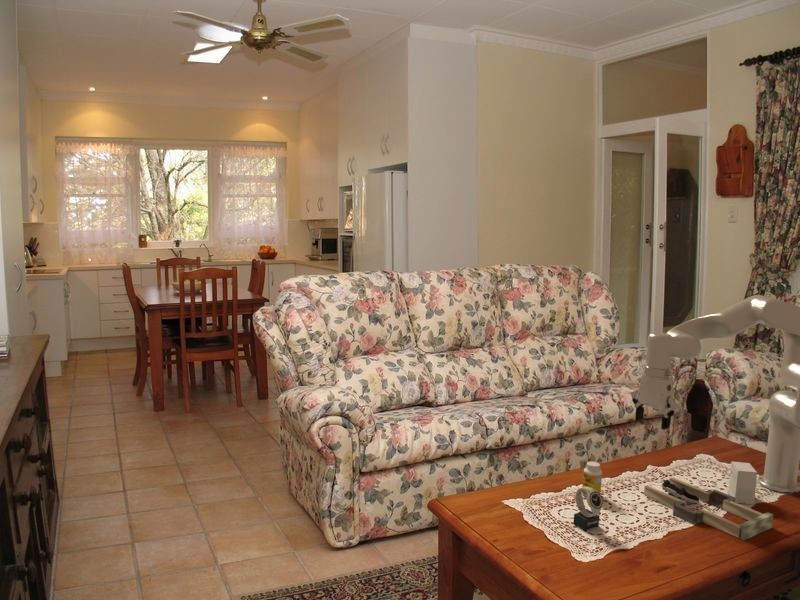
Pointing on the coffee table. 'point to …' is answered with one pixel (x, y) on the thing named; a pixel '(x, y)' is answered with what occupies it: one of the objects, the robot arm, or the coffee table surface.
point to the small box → (742, 482)
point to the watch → (586, 517)
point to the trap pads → (716, 504)
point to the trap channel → (743, 531)
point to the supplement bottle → (592, 477)
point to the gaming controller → (679, 492)
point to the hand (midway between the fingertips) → (651, 424)
